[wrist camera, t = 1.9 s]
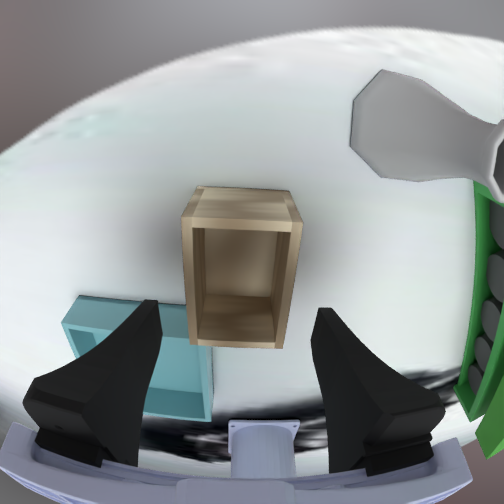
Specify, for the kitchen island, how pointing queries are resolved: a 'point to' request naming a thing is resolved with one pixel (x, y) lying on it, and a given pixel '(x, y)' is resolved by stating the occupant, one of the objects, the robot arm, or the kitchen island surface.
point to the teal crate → (169, 360)
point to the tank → (486, 328)
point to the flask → (424, 135)
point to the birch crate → (239, 265)
